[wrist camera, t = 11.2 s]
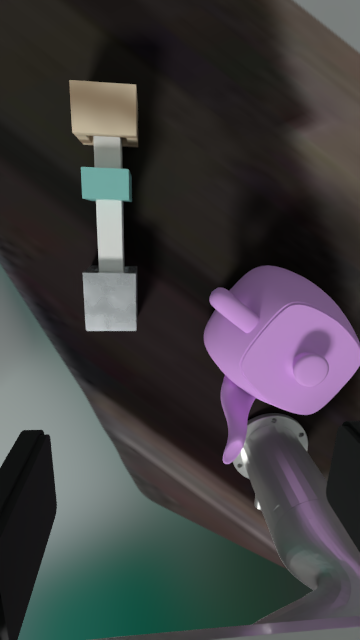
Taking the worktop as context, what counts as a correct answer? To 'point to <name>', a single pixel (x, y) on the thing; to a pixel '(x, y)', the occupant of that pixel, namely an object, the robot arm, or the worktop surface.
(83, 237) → the worktop surface
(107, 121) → the socket
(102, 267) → the plug
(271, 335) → the teapot
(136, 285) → the sleeve
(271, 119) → the worktop surface
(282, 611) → the robot arm
